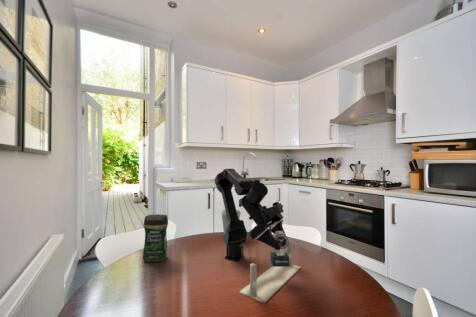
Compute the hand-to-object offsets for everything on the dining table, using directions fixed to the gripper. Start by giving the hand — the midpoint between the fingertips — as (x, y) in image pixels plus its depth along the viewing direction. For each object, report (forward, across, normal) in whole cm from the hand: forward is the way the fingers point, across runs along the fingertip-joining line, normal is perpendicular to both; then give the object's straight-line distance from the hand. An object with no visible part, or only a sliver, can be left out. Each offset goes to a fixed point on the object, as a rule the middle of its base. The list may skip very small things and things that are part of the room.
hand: (283, 245), depth 80 cm
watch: (+4, 0, +6) cm, 7 cm away
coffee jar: (-28, -9, +46) cm, 55 cm away
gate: (+6, 0, +11) cm, 13 cm away
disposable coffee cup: (-19, +32, +38) cm, 53 cm away
